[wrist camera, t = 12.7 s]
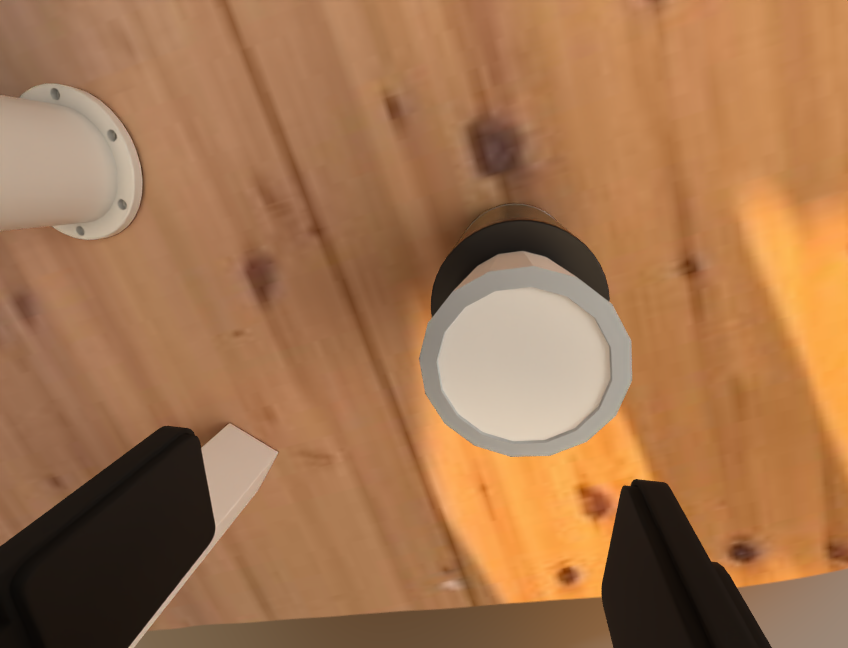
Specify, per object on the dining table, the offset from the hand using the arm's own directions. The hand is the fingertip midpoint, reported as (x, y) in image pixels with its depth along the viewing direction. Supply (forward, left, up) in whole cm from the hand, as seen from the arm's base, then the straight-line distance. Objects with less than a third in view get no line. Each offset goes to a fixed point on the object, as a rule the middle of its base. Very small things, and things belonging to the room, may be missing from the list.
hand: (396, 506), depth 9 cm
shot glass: (+2, +2, -13) cm, 13 cm away
